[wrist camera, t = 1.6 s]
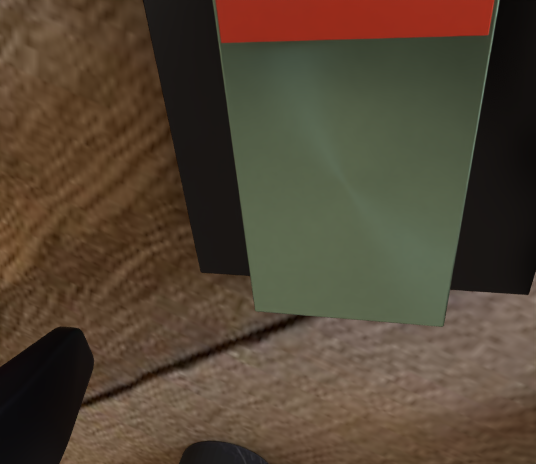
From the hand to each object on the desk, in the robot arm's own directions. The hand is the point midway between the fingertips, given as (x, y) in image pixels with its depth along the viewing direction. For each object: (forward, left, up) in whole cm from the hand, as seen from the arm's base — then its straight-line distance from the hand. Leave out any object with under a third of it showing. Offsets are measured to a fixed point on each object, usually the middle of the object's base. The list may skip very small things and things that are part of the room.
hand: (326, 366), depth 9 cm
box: (0, 0, -11) cm, 11 cm away
